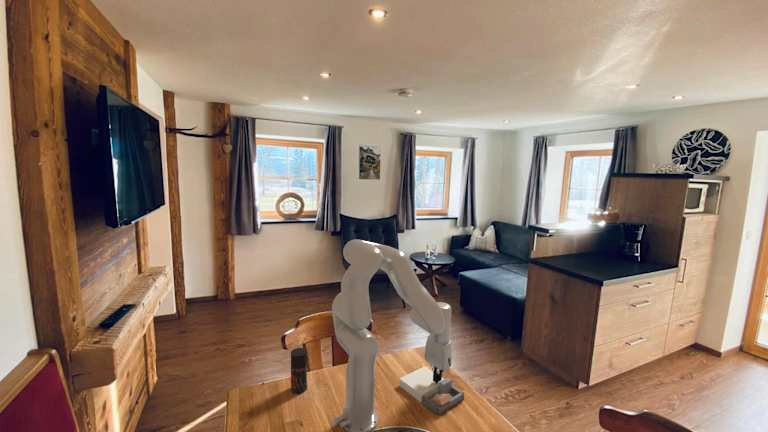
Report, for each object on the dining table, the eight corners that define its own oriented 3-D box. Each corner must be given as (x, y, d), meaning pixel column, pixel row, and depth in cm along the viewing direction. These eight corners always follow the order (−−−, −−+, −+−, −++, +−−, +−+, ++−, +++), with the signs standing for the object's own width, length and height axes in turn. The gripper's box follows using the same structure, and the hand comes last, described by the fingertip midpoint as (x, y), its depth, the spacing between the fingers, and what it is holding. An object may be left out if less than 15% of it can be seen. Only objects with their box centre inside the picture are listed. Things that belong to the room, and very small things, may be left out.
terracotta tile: (430, 399, 122) (432, 405, 121) (440, 399, 118) (441, 405, 117) (440, 393, 125) (441, 399, 124) (449, 393, 121) (451, 399, 120)
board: (421, 402, 123) (421, 394, 123) (399, 385, 132) (399, 378, 132) (446, 387, 132) (447, 380, 131) (424, 372, 141) (424, 366, 141)
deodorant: (308, 392, 127) (308, 354, 125) (291, 395, 125) (291, 357, 123) (305, 382, 132) (305, 346, 130) (290, 385, 130) (289, 349, 128)
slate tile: (438, 394, 127) (442, 397, 126) (439, 381, 126) (443, 384, 125) (447, 388, 130) (451, 391, 129) (448, 377, 129) (452, 379, 128)
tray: (438, 415, 117) (438, 409, 116) (421, 402, 123) (421, 396, 123) (463, 399, 126) (464, 393, 125) (447, 388, 132) (447, 382, 131)
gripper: (418, 330, 131) (416, 374, 133) (448, 347, 120) (445, 395, 122) (431, 325, 136) (429, 368, 138) (462, 340, 124) (458, 387, 127)
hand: (437, 380), depth 130 cm, fingers closed
